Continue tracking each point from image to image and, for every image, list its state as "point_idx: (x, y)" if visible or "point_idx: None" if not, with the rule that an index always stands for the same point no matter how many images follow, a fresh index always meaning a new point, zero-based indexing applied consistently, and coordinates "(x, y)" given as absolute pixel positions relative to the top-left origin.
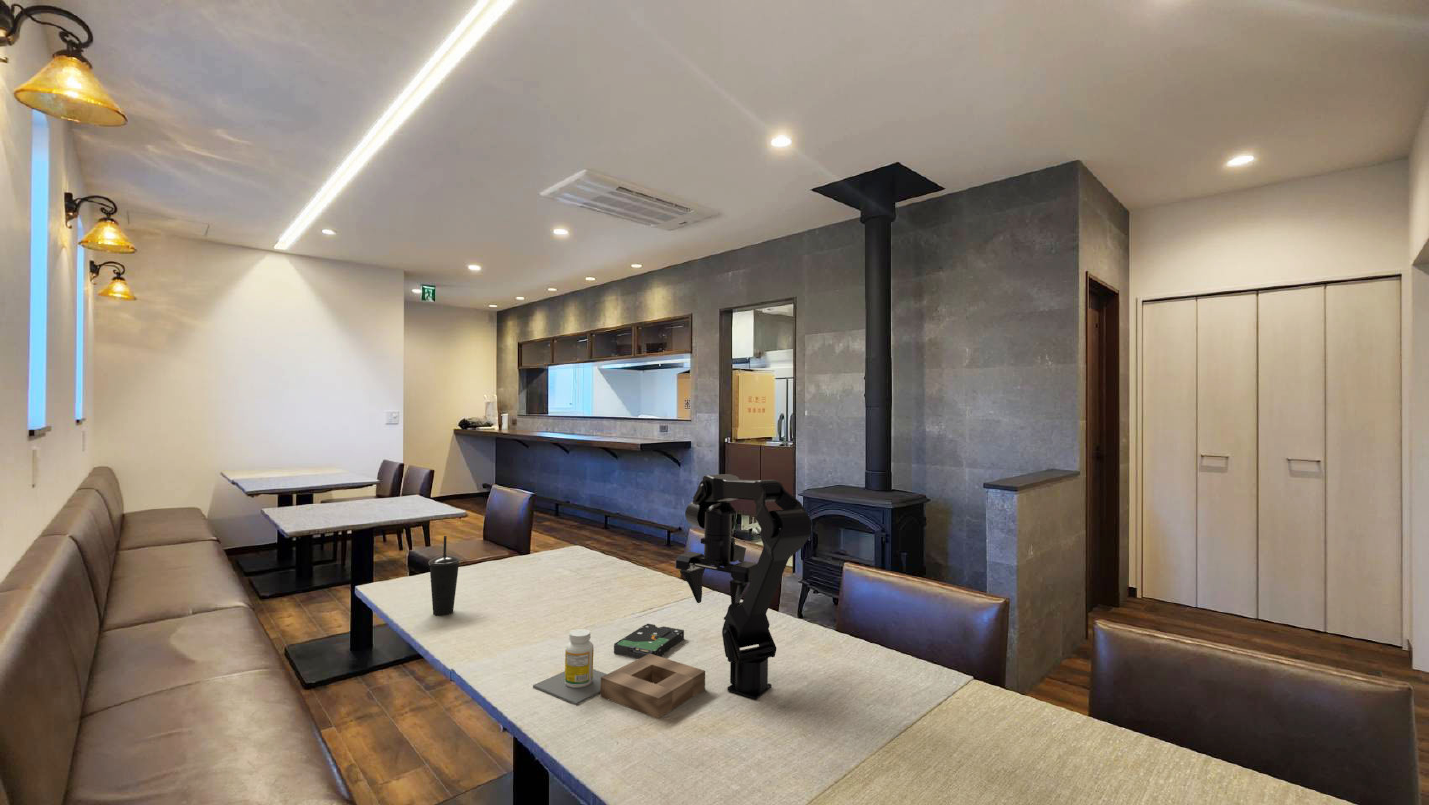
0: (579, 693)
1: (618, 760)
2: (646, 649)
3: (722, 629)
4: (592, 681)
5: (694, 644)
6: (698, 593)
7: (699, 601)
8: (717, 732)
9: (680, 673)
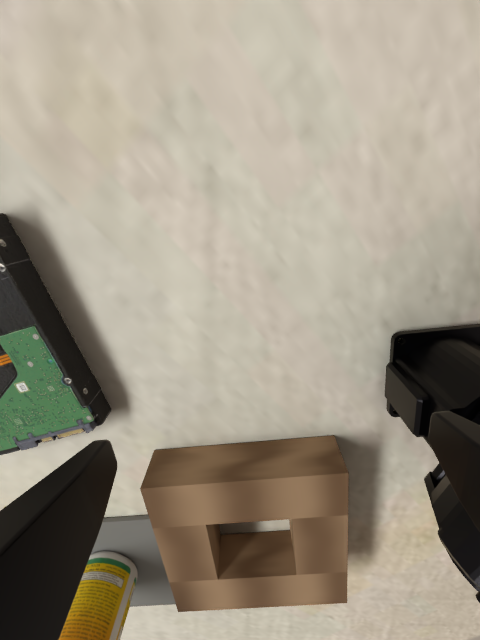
0: (154, 586)
1: (364, 635)
2: (70, 431)
3: (459, 569)
4: (124, 553)
5: (75, 226)
6: (80, 539)
7: (110, 464)
8: None
9: (303, 517)
